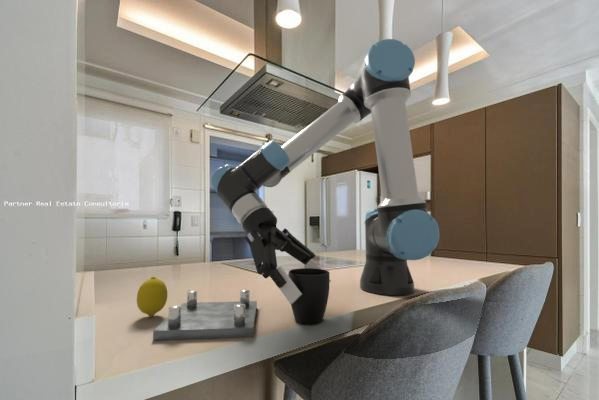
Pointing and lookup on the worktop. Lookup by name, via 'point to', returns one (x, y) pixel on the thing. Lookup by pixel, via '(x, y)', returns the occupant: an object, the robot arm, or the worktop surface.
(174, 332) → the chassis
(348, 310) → the worktop surface
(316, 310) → the mug
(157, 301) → the lemon
